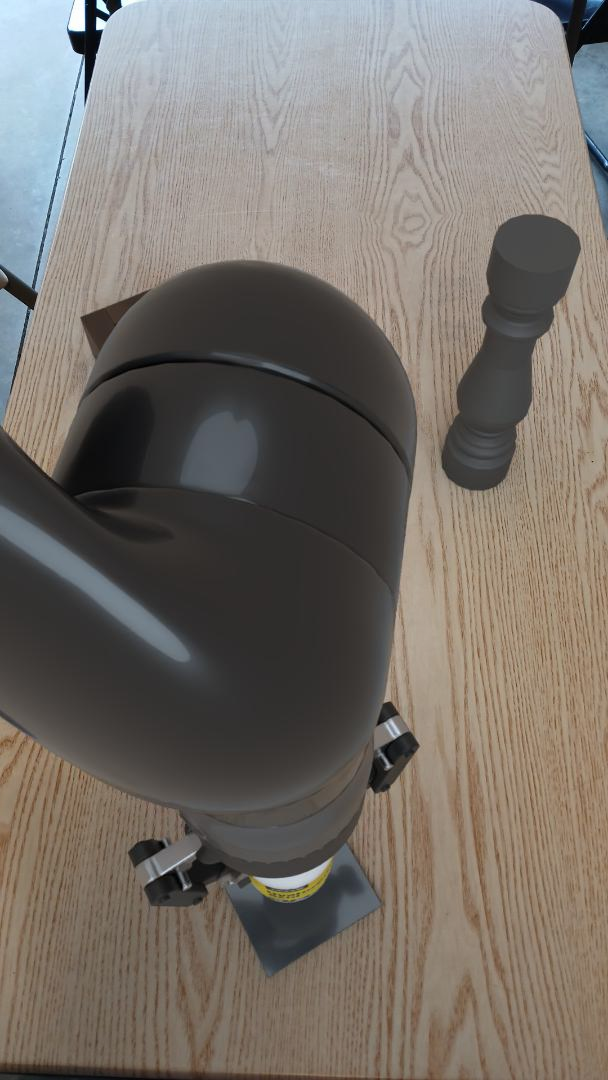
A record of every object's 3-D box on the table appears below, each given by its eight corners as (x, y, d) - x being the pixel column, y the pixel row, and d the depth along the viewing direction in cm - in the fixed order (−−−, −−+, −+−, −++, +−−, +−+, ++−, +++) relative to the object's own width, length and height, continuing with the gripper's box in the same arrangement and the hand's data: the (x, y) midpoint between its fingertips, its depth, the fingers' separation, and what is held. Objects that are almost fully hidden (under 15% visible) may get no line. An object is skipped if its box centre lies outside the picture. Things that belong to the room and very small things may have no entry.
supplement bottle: (265, 920, 48) (254, 900, 40) (230, 832, 51) (213, 795, 42) (348, 879, 49) (355, 851, 41) (311, 795, 52) (309, 751, 43)
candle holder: (497, 431, 78) (567, 206, 56) (517, 485, 75) (598, 269, 53) (433, 440, 78) (479, 217, 56) (450, 495, 75) (505, 281, 53)
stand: (135, 427, 79) (124, 392, 75) (92, 353, 84) (79, 317, 79) (236, 382, 82) (231, 347, 77) (188, 313, 86) (181, 276, 82)
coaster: (268, 978, 56) (268, 977, 55) (208, 855, 60) (208, 854, 59) (382, 905, 58) (382, 905, 57) (317, 791, 62) (317, 790, 61)
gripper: (379, 588, 34) (361, 717, 49) (51, 763, 31) (137, 845, 45) (488, 745, 31) (433, 832, 46) (133, 960, 27) (197, 979, 42)
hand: (285, 838), depth 45 cm, fingers closed on supplement bottle, 5 cm apart
